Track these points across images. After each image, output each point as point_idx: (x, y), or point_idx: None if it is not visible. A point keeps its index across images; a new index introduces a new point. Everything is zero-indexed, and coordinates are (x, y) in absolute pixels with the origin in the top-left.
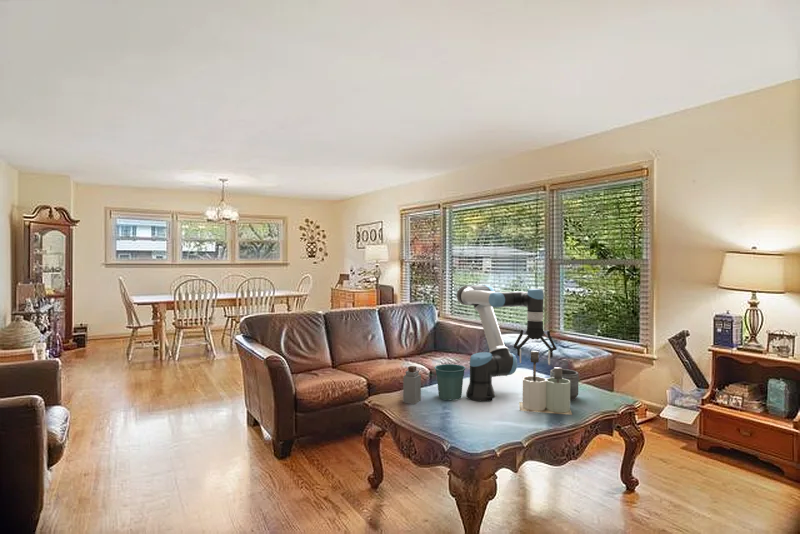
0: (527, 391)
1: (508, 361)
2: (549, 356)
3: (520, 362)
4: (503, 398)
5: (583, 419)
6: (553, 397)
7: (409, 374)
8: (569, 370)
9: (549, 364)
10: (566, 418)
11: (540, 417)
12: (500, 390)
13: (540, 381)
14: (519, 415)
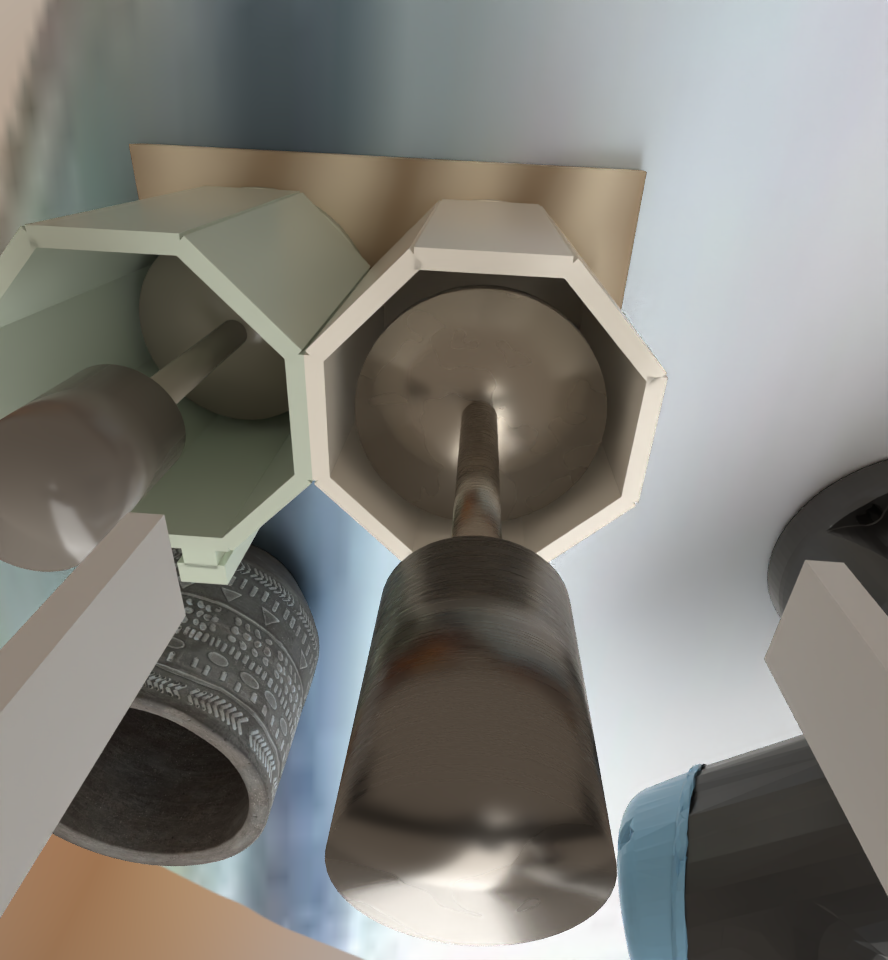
0: (584, 263)
1: (758, 905)
2: (15, 661)
3: (830, 569)
4: (695, 562)
5: (36, 96)
6: (263, 209)
7: None
8: (93, 836)
9: (139, 514)
10: (192, 91)
11: (445, 61)
12: (672, 721)
13: (393, 419)
14: (658, 82)
